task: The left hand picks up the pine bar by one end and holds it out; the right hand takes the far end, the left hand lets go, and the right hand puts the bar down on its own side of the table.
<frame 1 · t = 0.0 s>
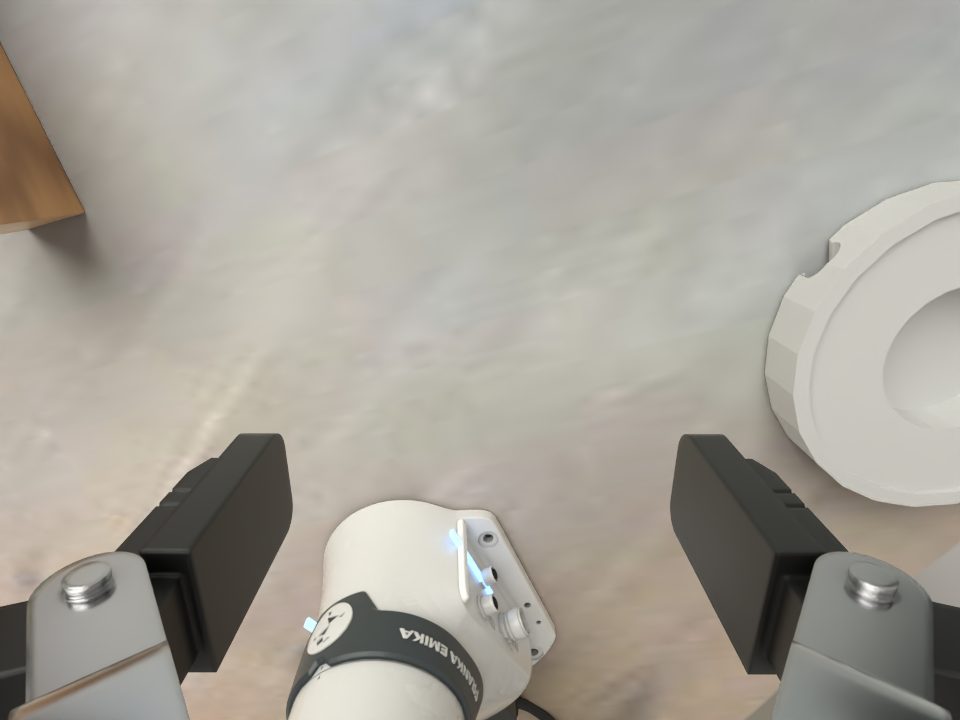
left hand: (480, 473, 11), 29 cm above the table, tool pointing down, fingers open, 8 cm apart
ashtray: (921, 341, 41), on the table
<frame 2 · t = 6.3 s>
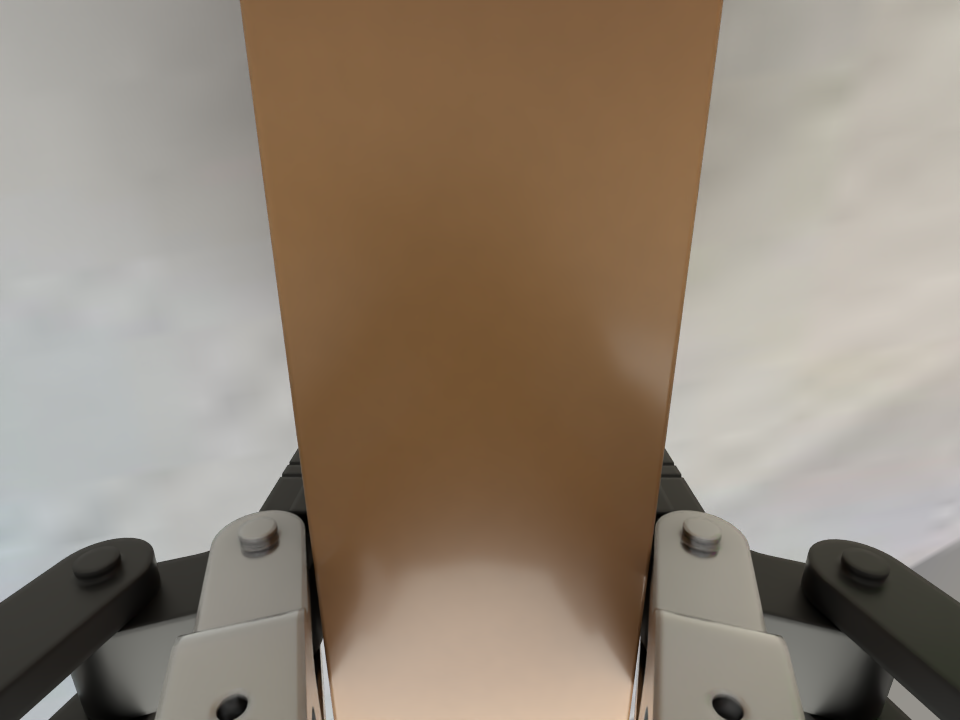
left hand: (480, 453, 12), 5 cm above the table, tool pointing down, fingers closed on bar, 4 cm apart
bar: (480, 9, 13), on the table, touching left hand
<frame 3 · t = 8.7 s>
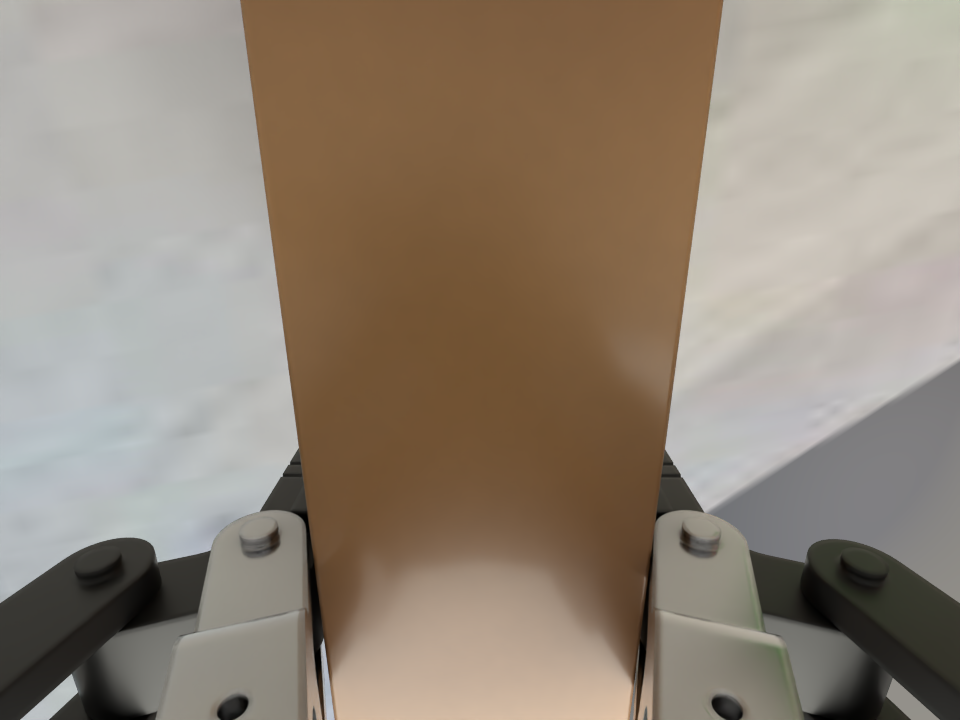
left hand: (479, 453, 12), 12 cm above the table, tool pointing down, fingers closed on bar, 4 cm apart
bar: (480, 9, 13), point 7 cm above the table, touching left hand
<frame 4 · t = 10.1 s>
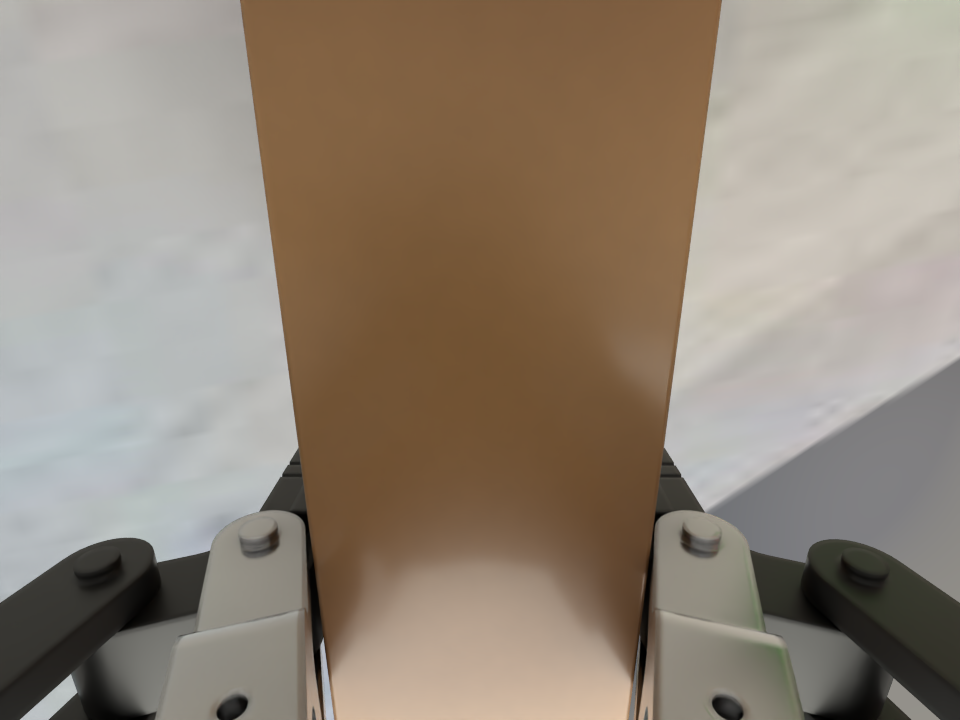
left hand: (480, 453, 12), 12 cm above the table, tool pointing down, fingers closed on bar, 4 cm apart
bar: (480, 9, 13), point 7 cm above the table, touching left hand, right hand
when the left hand's fingers open (12 cm above the table, at t = 11.1 s): bar stays where it is, held by the right hand.
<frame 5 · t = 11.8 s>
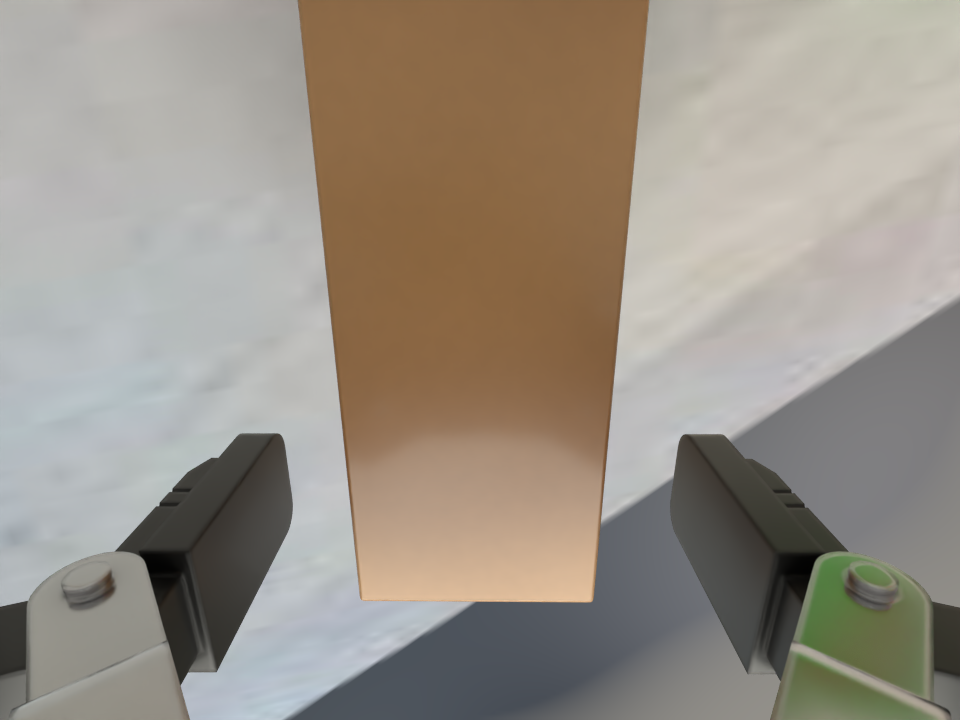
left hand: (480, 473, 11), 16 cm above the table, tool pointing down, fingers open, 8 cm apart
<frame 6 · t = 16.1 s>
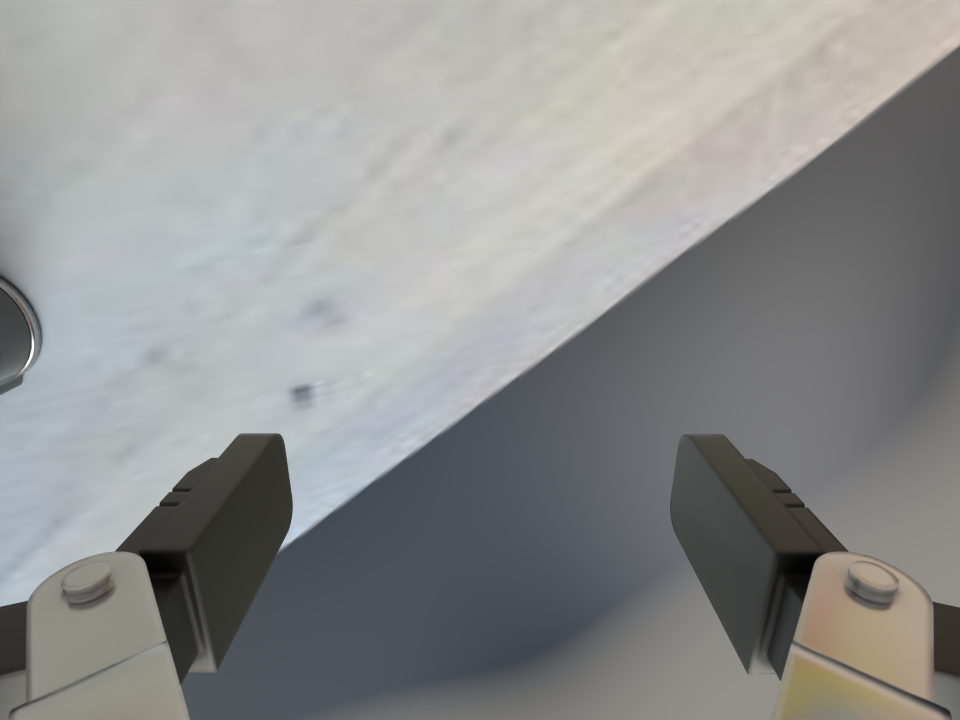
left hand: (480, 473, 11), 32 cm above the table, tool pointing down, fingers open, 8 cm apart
when the right hand's fingers open (6 cm above the table, at t = 22.2 s): bar stays where it is, on the table.
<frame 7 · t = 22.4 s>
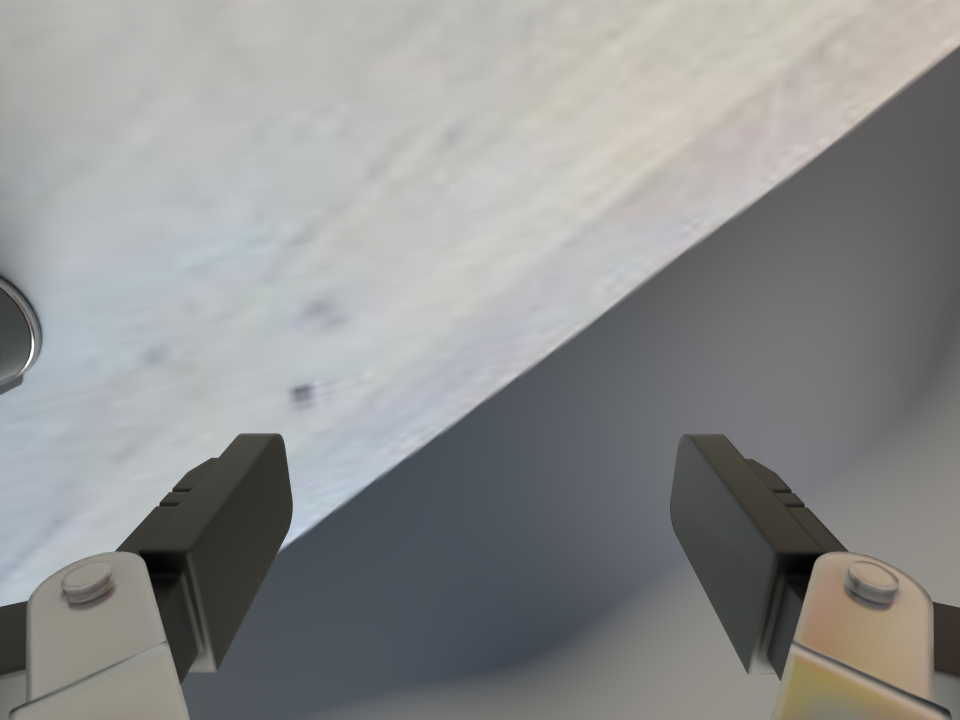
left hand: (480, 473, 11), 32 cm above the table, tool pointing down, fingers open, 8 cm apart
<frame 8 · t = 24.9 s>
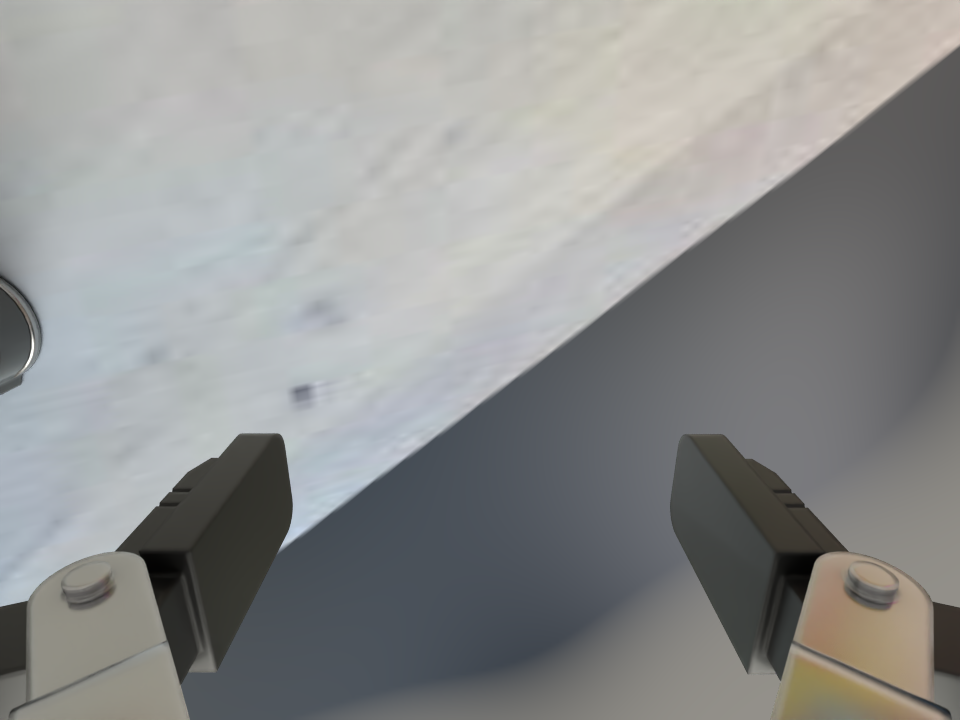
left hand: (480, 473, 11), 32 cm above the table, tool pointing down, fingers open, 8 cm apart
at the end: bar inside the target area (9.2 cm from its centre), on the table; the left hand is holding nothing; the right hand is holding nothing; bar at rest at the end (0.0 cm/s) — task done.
